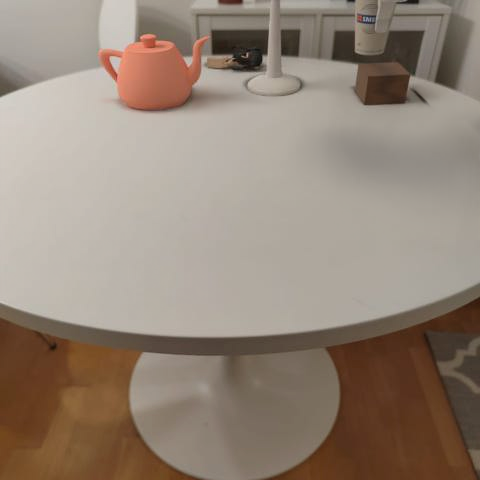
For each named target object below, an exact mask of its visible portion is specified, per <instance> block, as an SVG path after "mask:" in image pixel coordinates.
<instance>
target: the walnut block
mask: <svg viewBox="0 0 480 480" xmlns="http://www.w3.org/2000/svg"><path fill="white" fill-rule="evenodd" d="M357 64H358V65H357V71H356V77H355V78H356V79H355V86H354V92H355V94H356V96H357V97H358V99H359V100H360V101H361V103H362V105H364V106H370V105H395V104H405V103H406V99H407V93H408V89H409V84H410V79H411V76H412V75H411V73H410V72H409V71H408V70H407V69H406V68H405V67H403V66H402V64H401V63H399V61H391V62H390V61H389V62H370V63H369V62H368V63H357Z"/></svg>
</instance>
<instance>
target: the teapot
mask: <svg viewBox="0 0 480 480" xmlns="http://www.w3.org/2000/svg"><path fill="white" fill-rule="evenodd" d="M139 38H140V41H136V42H132V43H129V44H128V45H127V46H126V47H125V48H124V50H123V51H120V50H117V49H112V48H103V49H100V50H99V52H98V59H99V61H100V63H101V65H102V67H103V69H104V70H105V71H106V72H107V73H108V75H109V76H110V77H111V78H112V80H113V81H114V82H115V83H116V88H117V95H118V96H119V98H120V99H121V100H122V102H123V103H124V104H125V105H126V106H128V107H129V108H131V109H136V110H144V111H158V110H166V109H171V108H176V107H179V106H182V105H184V103H186V101H187V100H188V99H189V97H190V95H191V93H192V90H193V86H194V85H195V84H197V82H198V81H199V80H200V77H201V74H202V66H203V65H202V53H203V47H204V45H205V43H206V42H207V41H208V40H209V39H210V38H211V35H208V36H204V37H201V38H199V39H197V40H196V41H195V43H194V44H193V49H192V62H191V64H190V65H189V66H188V64H187V62H186V61H185V58H184V56H183V55H182V53H181V52H180V50H179V49H178V47H177V46H176V44H175V43H174V42H172V41H168V40H157V35H156V34H152V33H147V34H143V35H140V36H139ZM111 57H114V58H115V57H116V58H120V62H119V65H118V69H117V72H116V70H115V68H114V66H113V64H112V62H111V59H110V58H111Z"/></svg>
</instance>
